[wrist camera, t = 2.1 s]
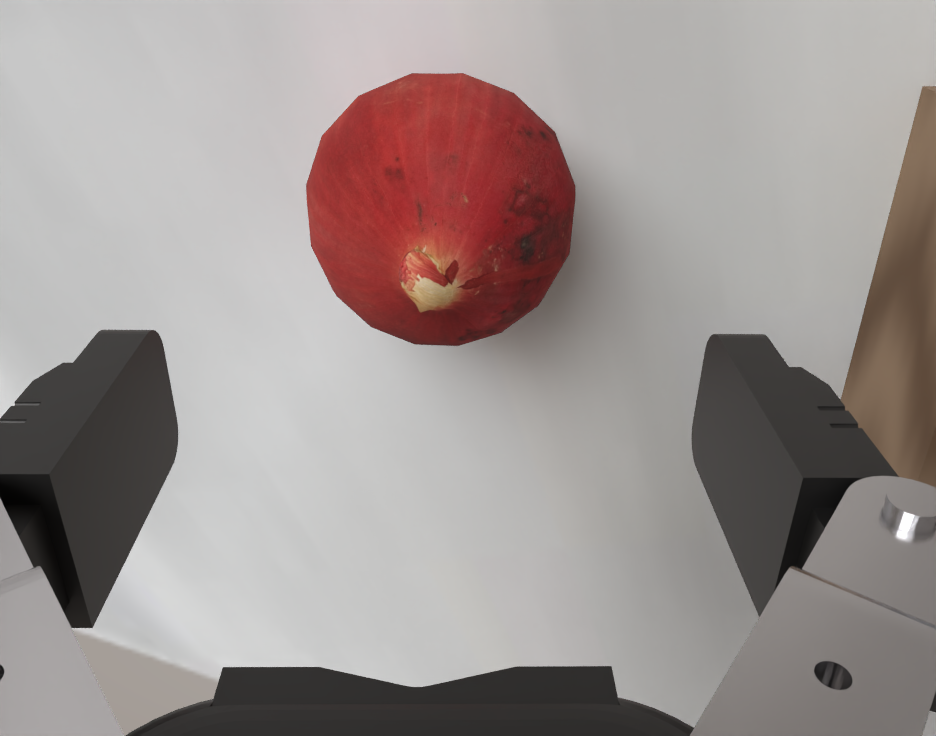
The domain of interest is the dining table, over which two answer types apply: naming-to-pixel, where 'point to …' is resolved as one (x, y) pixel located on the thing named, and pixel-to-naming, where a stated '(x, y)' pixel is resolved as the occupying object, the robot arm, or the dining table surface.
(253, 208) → the dining table surface
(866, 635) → the robot arm
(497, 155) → the onion
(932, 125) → the bottom block
